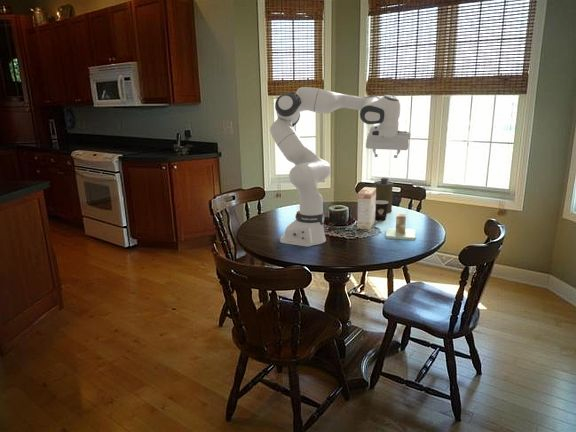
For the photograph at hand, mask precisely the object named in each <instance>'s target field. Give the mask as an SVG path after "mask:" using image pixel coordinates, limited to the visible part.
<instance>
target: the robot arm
mask: <svg viewBox="0 0 576 432" xmlns="http://www.w3.org/2000/svg"><path fill="white" fill-rule="evenodd" d="M343 108H344V109H351V110H356V111H360V112H359V118H360V120H361V122H363V123H364V124H366V125H373V126H370V127H369V132H368V134H367V137H366V141H365V148H366V149H369V150H372V152H373V154H374V158H378V155H379V153H378V152H377V151H376V150H387V151H388V150H391V151H392V150H393V151H394V150H395V151H397V152H396V153H393V154H394V156H393V158H394V159H397V158H398V155H399V154H400V153H401V151H407V150H409V145H410V144H409V140H411V132H410V131H408V130H399V125H400V124H399V118H400V115H401V101H400V98H398V97H397V96H395V95H391V94H386V95H383V96H382V97H380V96H378V95H368V96H358V95H352V94H346V93H340V92H335V91H331V90H328V89H327V90H326V89H323V88H319V87H318V88H317V87H312V86H311V87H309V86H301V87H299V88H298V89H297V90H296V91H295V92H290V93H283V94H280V95H279V96H278V97H277V98H276V100H275V104H274V109H275V111H276V115H277V119H276V120H275V121H273V122H272V124H270V127H269V131H270V135H271V137H272V139H273V141H274V143H275V144H276V146H277V147H278V148H279V151H281V153H282V154H283V156H284V158H285V159H286V160H287V161H289V162H290V163H293V164H294V165H295V166H293V167H292V168H291V169H290V171H289V180H290V183H291V184H292V185H293V186H294V187H295V188H296V191H297V194H298V199H299V202H298V203H299V210H298V211H296V214H295V220H293V221H292V222H291V223H289V224H288V225H287V226H286V228H285V230H284V234H282V236H280V238H279V242H280V243H281V244H286V245H295V246H299V247H300V246H301V247H312V246H315V245H321V244H324V243H325V242H326V241H327V237H326V235H325V230H324V229H325V228H324V223H325V215H324V210H323V205H324V203H323V202H324V201H323V199H324V198H323V195H322V194H321V193H320V192H319V189H318V183H322V182H323V181H325V180H326V179H328V178H329V177H330V175H331V173H332V169H331V165H330V163H329V162H328V161H327V160H324V159H323V158H321V157H319V156H318V155H317V154H316V153H314V152H313V151H312V149H310V148H309V147H308V146H307V145H306V143H305V142H304V141H303V140H302V138H301V137H300V135H299V134H298V133H297V131H296V129H295V128H294V127H295V126H296V125H297V124H298V122H299V121H300V117H301V112H304V111H310V112H314V113H317V114H327V115H328V114H331V113H333V112H334V111H336V110H339V109H343Z"/></svg>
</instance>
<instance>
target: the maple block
mask: <svg viewBox="0 0 576 432" xmlns="http://www.w3.org/2000/svg"><path fill="white" fill-rule="evenodd" d="M395 218H396V219H395V228H396V234H405V228H406V225H407V224H406V221H407V214H406V213H396V217H395Z"/></svg>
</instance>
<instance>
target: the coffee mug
mask: <svg viewBox="0 0 576 432" xmlns="http://www.w3.org/2000/svg"><path fill="white" fill-rule="evenodd" d="M387 208H388V201H383V200H376V211H375V221H377V222H384V221H386V219H387V214H388V213H387Z"/></svg>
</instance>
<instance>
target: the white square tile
mask: <svg viewBox="0 0 576 432" xmlns="http://www.w3.org/2000/svg"><path fill="white" fill-rule="evenodd" d="M384 238H385V239H388V240H389V239H393V240H405V241H406V240H409V241H415V240H416V229H415V228H406V227H405V234H396V227H386V231H385V237H384Z"/></svg>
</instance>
